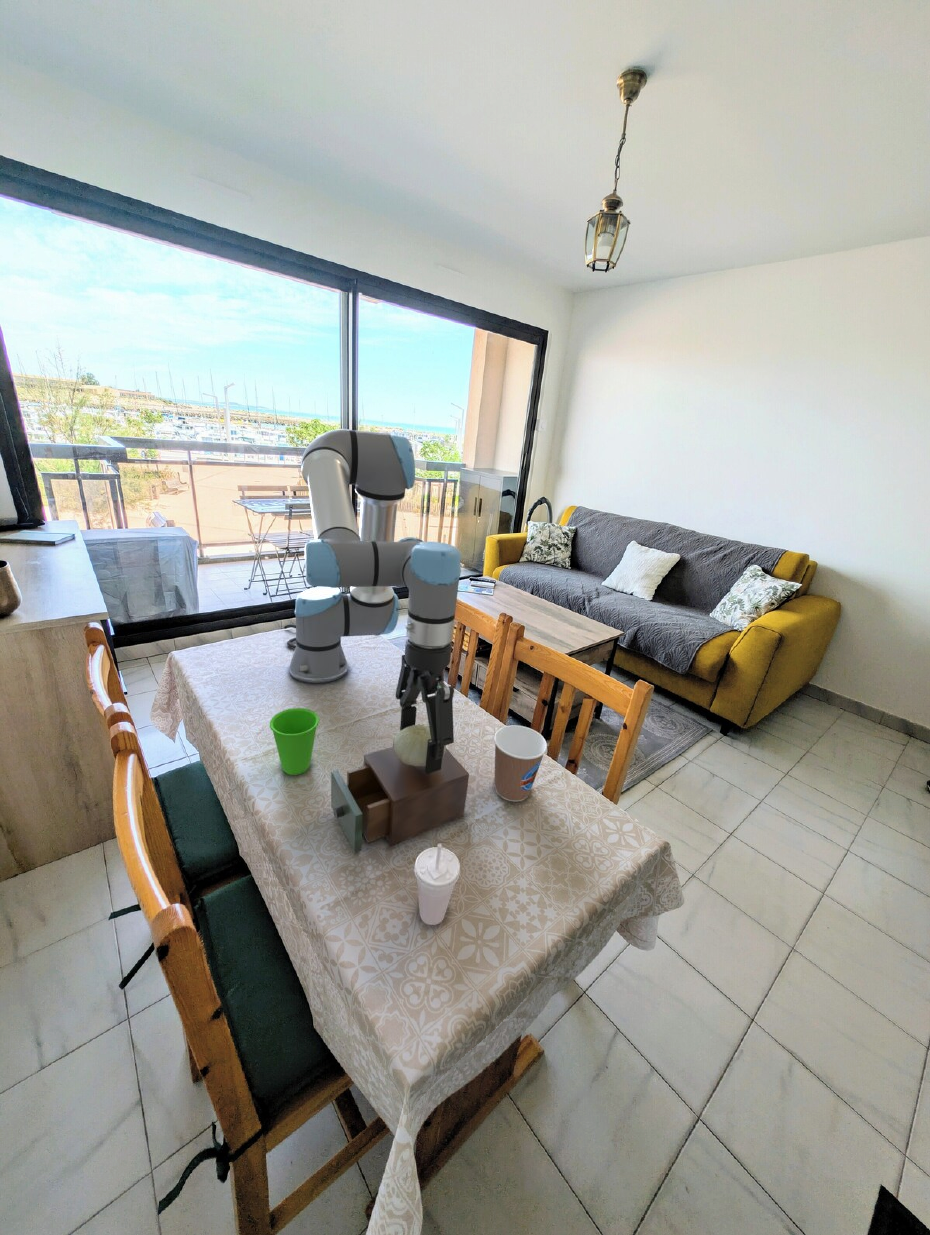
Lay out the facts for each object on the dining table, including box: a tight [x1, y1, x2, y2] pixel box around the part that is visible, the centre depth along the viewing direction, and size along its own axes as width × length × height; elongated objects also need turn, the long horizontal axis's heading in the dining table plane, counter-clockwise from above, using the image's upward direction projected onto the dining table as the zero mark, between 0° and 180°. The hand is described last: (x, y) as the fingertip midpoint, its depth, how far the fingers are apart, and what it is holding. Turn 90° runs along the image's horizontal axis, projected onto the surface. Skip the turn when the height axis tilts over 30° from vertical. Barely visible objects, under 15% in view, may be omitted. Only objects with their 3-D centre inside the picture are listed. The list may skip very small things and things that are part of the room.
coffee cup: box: [493, 724, 548, 803], centre depth 93 cm, size 10×10×12 cm
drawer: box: [330, 765, 391, 854], centre depth 82 cm, size 15×12×8 cm
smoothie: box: [414, 843, 461, 926], centre depth 67 cm, size 6×6×14 cm
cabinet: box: [362, 745, 470, 847], centre depth 86 cm, size 15×13×10 cm
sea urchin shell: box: [393, 723, 447, 767], centre depth 83 cm, size 9×8×8 cm
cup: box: [269, 707, 320, 776], centre depth 93 cm, size 9×9×11 cm
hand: (419, 753), depth 84 cm, fingers closed on sea urchin shell, 9 cm apart
